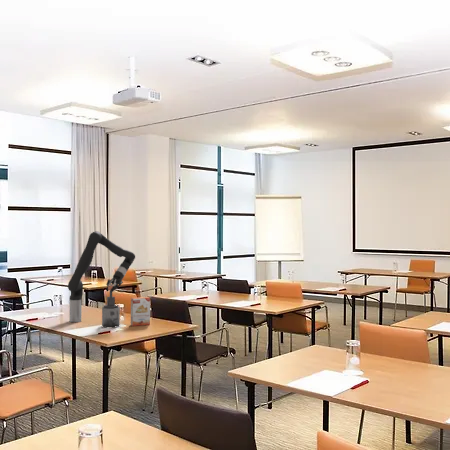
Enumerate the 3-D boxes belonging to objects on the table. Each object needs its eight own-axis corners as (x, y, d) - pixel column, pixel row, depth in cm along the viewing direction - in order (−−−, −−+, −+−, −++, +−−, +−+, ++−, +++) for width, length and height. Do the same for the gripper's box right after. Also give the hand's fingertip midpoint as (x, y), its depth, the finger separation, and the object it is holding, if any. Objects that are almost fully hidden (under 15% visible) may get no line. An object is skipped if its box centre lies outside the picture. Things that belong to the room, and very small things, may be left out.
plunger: (107, 301, 403) (107, 285, 404) (113, 301, 405) (113, 285, 405) (108, 302, 399) (108, 286, 399) (114, 302, 401) (114, 286, 401)
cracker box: (132, 326, 400) (132, 298, 401) (130, 325, 406) (130, 297, 406) (150, 324, 407) (150, 297, 407) (147, 323, 412) (147, 296, 412)
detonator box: (101, 325, 406) (101, 296, 406) (118, 324, 410) (118, 295, 410) (103, 329, 389) (103, 299, 390) (121, 328, 394) (121, 298, 394)
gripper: (110, 270, 412) (99, 287, 402) (124, 270, 405) (113, 288, 395) (115, 276, 417) (104, 293, 406) (129, 277, 410) (118, 294, 399)
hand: (109, 290), depth 400 cm, fingers closed on plunger, 4 cm apart
